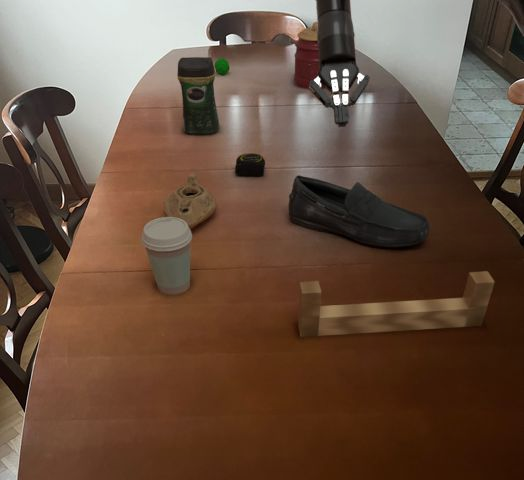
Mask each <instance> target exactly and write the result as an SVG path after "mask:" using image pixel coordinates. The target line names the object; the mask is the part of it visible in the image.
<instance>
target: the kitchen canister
mask: <svg viewBox="0 0 524 480" xmlns="http://www.w3.org/2000/svg"><path fill="white" fill-rule="evenodd" d="M297 38H298V39H297V40H295V42H294V46H295V47H296V48H295V49H296V50H295V53H294V74H293V81H294V85H295V86H297V87H298V88H301V89H305V90H309V84H310V81H311V80H314V79H315V78H317V77H318V71H319V69H320V68H319V54H318V40H317V21H314V22H313V23H312V26H310V27H305V28H303V29H302V30H301V31H299V32H298V33H297ZM320 83H321V82H320ZM321 88H322V89H323V90H324V89H326V88H325V87H324V85H323V84H322V83H321Z"/></svg>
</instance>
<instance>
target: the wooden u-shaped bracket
mask: <svg viewBox="0 0 524 480" xmlns="http://www.w3.org/2000/svg"><path fill="white" fill-rule="evenodd" d="M467 276H468V277H467V280H466V284H465V287H464V291H463V295H462V297H453V298H452V297H451V298H438V299H437V298H436V299H435V298H433V299H419V300H418V299H417V300H402V301H399V300H398V301H384V302H368V303H366V302H365V303H350V304H335V305H332V304H331V305H321V304H322V288H321V286H320V281H319V280H310V281H300V282H299V286H298V287H299V288H298V290H299V291H298V320H297V327H298V332H299V337H301V338H305V337H320V336H336V335H337V336H339V335H352V334H353V335H354V334H355V335H356V334H370V333H371V334H372V333H386V332H388V333H389V332H402V331H419V330H420V331H421V330H436V329H437V330H438V329H449V328H450V329H451V328H467V327H481V326H482V325H483V322H484V319H485V316H486V313H487V309H488V306H489V302H490V299H491V296H492V292H493V289H494V285H495V280H494V278H493V277H492V276H491V274H490V272H489V271H488V270H487V271H486V270H484V271H469V272H468V275H467Z"/></svg>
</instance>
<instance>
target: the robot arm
mask: <svg viewBox="0 0 524 480" xmlns="http://www.w3.org/2000/svg"><path fill="white" fill-rule="evenodd" d="M497 1H498V2H499V3H500V4H502V5H503V6H504V7H505V8H506V9H507V10H508V12H509V13H510V14H511V16H512V19H513V20H514V22H515V24H516V26H517V28H518V30H519V32H520V33H521V35H522V37H524V0H497ZM315 9H316V22H317V40H318V54H319V68H320V69H319V71H318V77H317V78H315V79H314V80H311V81H310V84H309V89H308V90H309V91H310V92H311V93H312V94H313V95H314V96H315V97H316V99H317V100H318V101H319V102H320V103H321V104H322V106H324V107H325V108H331V109H332V110H333V119H334V125H337V127H338V128H345V127H347V124H349V121H350V114H349V113H350V110H349V107H351V106H355V105H356V103H357V102H358V100H359V99H360V97H361V95H362V94H363V93H364V91H365V89H366V88H367V86H368V84H369V83H370V79H371V77H370V75H367V74H366V75H364V74H362V73H361V72H360V68H359V67H358V65H357V58H356V56H357V55H356V44H355V34H356V33H355V29H354V23H353V19H352V18H353V17H352V8H351V0H315ZM356 80H357V81H356ZM320 82H321V83H322V84H323V85H324V87H325V88H324V89H326V90H327V91H328V92H329V93H330V96H329V95H328V94H327V92H326V91H325V90H324V89H322V88H321V83H320ZM355 82H356V86H357V87H356V89H355V90H354V92H353V93H352V94H351V96H350V97H349V91H350V90H351V88H352V87H353V85H354V83H355Z"/></svg>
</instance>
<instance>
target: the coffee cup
mask: <svg viewBox="0 0 524 480" xmlns="http://www.w3.org/2000/svg"><path fill="white" fill-rule="evenodd" d="M192 239H193V234H192V229H190V228H189V227H188V225H187V223H186V222H185V221H184V220H182V219H180V218H176V217H168V216H162V217H158V218H155V219H152V220H150V221H148V222H147V223H146V224H145V225H144V227H143V231H142V234H141V244H142V245H143V246H144V247H145V250H146V254H147V258H148V260H149V263H150V267H151V270H152V274H153V277H154V280H155V282H156V283H155V284H156V287H157V290H158V291H159V292H161V293H162V294H165V295H170V296H171V295H172V296H174V295H179V294H182V293H185V292H186V291H187V290H189V288H190V287H191V254H192V253H191V247H192V245H191V243H192Z"/></svg>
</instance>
